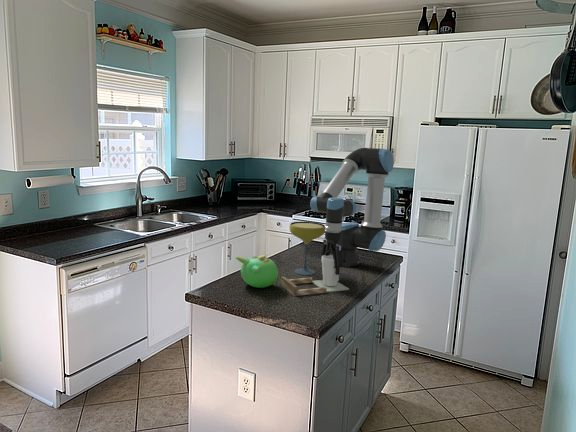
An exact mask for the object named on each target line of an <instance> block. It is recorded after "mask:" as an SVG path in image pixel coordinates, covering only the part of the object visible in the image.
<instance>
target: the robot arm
mask: <svg viewBox="0 0 576 432" xmlns="http://www.w3.org/2000/svg"><path fill="white" fill-rule="evenodd" d="M394 162H395V159H394V155H393V152H391V150H390V149H386V148H376V147H375V148H373V147H360V148H357V149H355V150H353V151H352V152H350V153H349V154H348V155H347V156H346V157H345V158H344V159H343V160H342V162H341V166H340V167H339V169H338V170H337V172H336V173H335V175H334V176H333V177H332V179H331V180H330V182H328V185H326V187H325V188H324V189H323V191H322V192H321V194H320V195H316V196H313V197H312V198H311V199H310V201H309V202H310V203H309V205H310V207H309V208H310V209H311V210H312V211H314V212H317V213H324V214H326V216H325V217H326V219H325V224H324V225H325V233H324V239H323V241H322V248H321V249H322V250H321V252H320V253H321V254H320V259H322V256H323V255H326V256H328V255H333V259H334V265H335V267H334V270H333V281H337V282H339V280H340V271H341V270H340V269H341V268H343V267H346V268H351V267H350V266H355V267H357V266H356V265H358V264H359V265H360V257H359V254H358V248H359V249H363V250H368V251H373V252H374V251H375V252H378V251H380V250H381V249H382V248H383V246H384V245H385V241H386V237H387V235H386V233H387V232H386V231H385V230H384V229H383V225H382V224H381V219H382V210H383V209H382V208H383V200H384V199H383V198H384V192H385V191H384V189H385V181H386V178H387V177H388V176H389V173H390V172H392V171H393V169H394V165H395V164H394ZM360 170H364V171H365V174H366V175H367V177H368V180H367V189H366V198H365V206H364V207H365V209H364V217H363V218H364V219H363V221H362V222H361V223H358V222H351V221H350V222H343V218H344V217H349V216H352V215H354V214H355V213H356V211H357V204H356V203H355V201H353V200H352V199H343V198H341V197H339V195H340V194H341V193H342V191H343V190H344V189H345V187H346V186H347V184H348V182H349V181H350V180H351V178H352V177H353V176H354V175H356V174H357V173H358V172H359V171H360ZM359 265H358V266H359ZM322 275H323V272H322Z"/></svg>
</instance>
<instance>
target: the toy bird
mask: <svg viewBox="0 0 576 432" xmlns="http://www.w3.org/2000/svg"><path fill="white" fill-rule="evenodd" d="M235 260H237V261H239V262H240V263H241V264H242V265H241V267H240V275H241V278H242V279H243V281H244V282H245V283H246V284H247V285H249V286H250V287H254V288H259V289H260V288H261V289H263V288H264V289H265V288H267V287H270V286H272V285H273V284H274V283H275V282H276V281H277V279H278V277H279V269H278V266H277V264H276V263H275V262H274V261H273V260H272V259H270V258H268V257H267V254H263V255H258V256H251V257H249V258H245V257H242V256H235Z"/></svg>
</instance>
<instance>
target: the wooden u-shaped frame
mask: <svg viewBox="0 0 576 432" xmlns="http://www.w3.org/2000/svg"><path fill="white" fill-rule="evenodd" d="M312 281H313V277H304V278H303V277H301V278H292V279H288V278H287V277H285V276H284V275H283V276H280V286H281V287H282V288H284V289H285V291H287V292H289V293H290V294H292V295H293V296H294V297H297V296H305V295H307V296H308V295H316V294H325V293H328V292H327V288H326V287H320V288H319V287H313V288H303V289H299V286H298V285H301V284H311V283H312ZM312 284H313V283H312Z"/></svg>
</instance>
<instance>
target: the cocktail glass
mask: <svg viewBox="0 0 576 432" xmlns="http://www.w3.org/2000/svg"><path fill="white" fill-rule="evenodd" d="M325 225H326V224H323V223H320V222H315V221H294V222H291V223H289V231H290V233H291V234H292V235H293V236H294V237H296V238H298V239H299V240H301V241H302V243H304V244H305V253H304V266H303V268H297V269H295V270H294V274H297V275H300V276H313V275H315V274H316V271H315V270H313V269H312V268H311V269H310V268H307V254H308V253H307V251H308V244H310V243H311V241H314V240H316V239H318V238H320V237H322V236H324V235H325V231H326V226H325Z"/></svg>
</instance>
